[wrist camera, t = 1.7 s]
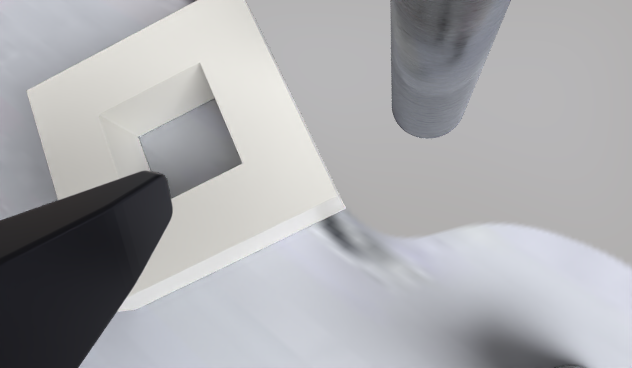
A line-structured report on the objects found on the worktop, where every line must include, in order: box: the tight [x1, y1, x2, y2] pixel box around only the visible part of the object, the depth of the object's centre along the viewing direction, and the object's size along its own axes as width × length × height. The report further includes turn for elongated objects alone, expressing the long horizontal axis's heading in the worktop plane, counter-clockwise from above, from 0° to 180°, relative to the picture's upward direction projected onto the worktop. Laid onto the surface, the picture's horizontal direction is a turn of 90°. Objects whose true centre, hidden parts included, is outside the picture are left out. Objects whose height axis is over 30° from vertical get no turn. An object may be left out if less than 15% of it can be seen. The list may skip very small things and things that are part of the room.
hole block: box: [26, 0, 346, 312], centre depth 22 cm, size 12×12×4 cm
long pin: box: [391, 0, 511, 138], centre depth 16 cm, size 4×4×13 cm
